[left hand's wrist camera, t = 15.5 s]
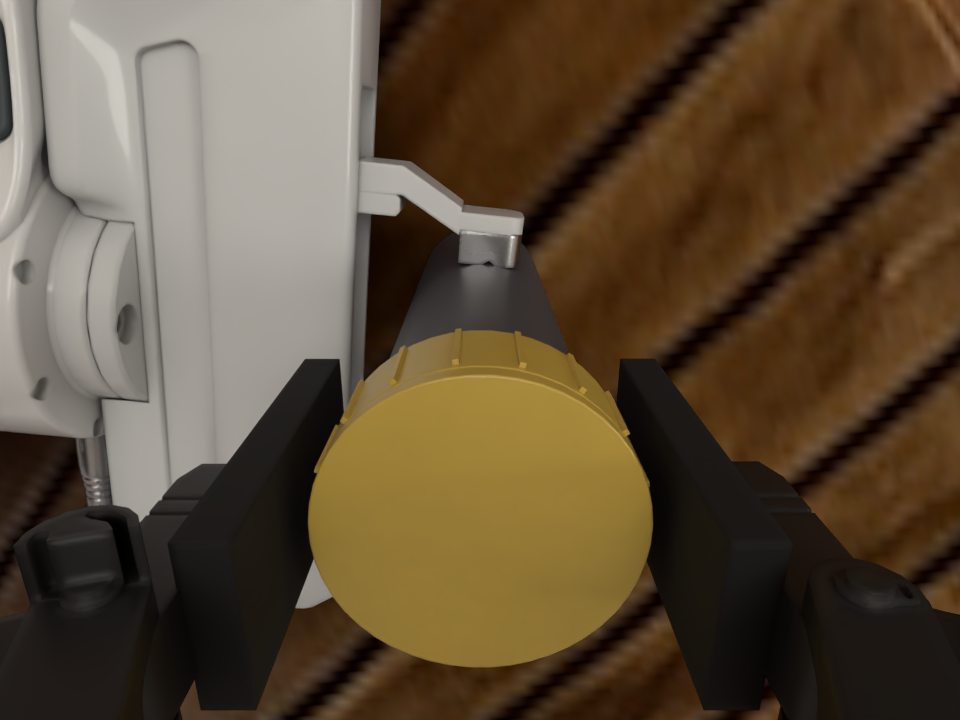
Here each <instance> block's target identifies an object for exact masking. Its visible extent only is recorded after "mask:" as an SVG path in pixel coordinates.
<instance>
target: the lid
mask: <svg viewBox="0 0 960 720" xmlns="http://www.w3.org/2000/svg"><path fill="white" fill-rule="evenodd" d="M629 434H630V432H629V430H628V428H627V426H626V424H625V422H624V420H623V418H622V416H621V414H620V412H619V410H618V407H617V405H616V403H615V401H614V399H613V397H612V395H611V393H610V392H609V391H606V392H604V391H603V390H602V388H601V387H600V386H599V384H598V383H597V382H596V380H595V379H594V378H593V377H592V376H591V375H590V374H589V373H588V372H587V371H586V370H585V369H584V368H583V367H582V366H580V365H579V364H578V363H576V361H575V358H574V356H573V355H572V354H570V353H568V354H567V355H565V354H564V353H562V352H560V351H558V350H557V349H555V348H553V347H551V346H549V345H547V344H544V343H542V342H539V341H537V340H534V339H532V338H528V337H525V336H521V332H518V331H515V332H514V334H513V333H507V332H499V331H492V330H470V331H462V329H461V328H459V329H455V332H453V333H448V334H444V335H440V336H436V337H432V338H429V339H427V340H424V341H422V342H419V343H416V344H414V345H412V346H410V347H408V348H407V347H406V346H405V345H404V346H402V347H400V349H399V352H398V353H397V354H395V355H394V356H393V357H391V358H390V359H389V360H387V361H386V362H385V363H383V364H382V365H380V366H379V367H378V368H377V369H376V370H375V371H374V372H373V373H372V374H371V375H370V376H369V377H368V378H367V379H366V380H365V382H364V381H363V380H360V381H359V382H358V384H357V386H356V388H355V390H354V392H353V394H352V397H351V399H350V401H349V403H348V405H347V407H346V409H345V411H344V414H343V416H342V418H341V420H340V424H339V425H335V427H334V429H333V431H332V433H331V435H330V438H329V440H328V442H327V444H326V446H325V448H324V450H323V452H322V454H321V456H320V458H319V460H318V462H317V465H316V467H315V470H314V473H317V475H316V478H315V480H314V483H313V486H312V491H311V495H310V500H309V507H308V531H309V541H310V546H311V550H312V553H313V557H314V561H315V564H316V566H317V569H318V571H319V573H320V576H321V578H322V580H323V582H324V583H325V585H326V587H327V588H328V590H329V592H330V593H331V595H332V596H333V598H334V599H335V600H336V601H337V603H338V604H339V605H340V606H341V608H342V609H343V610H344V611H345V612H346V613H347V614H348V615H349V616H350V617H351V618H352V619H353V620H354V621H355V622H356V623H357V624H358V625H360V626H361V627H362V628H363V629H365V630H366V631H367V632H369V633H370V634H371V635H373V636H374V637H376V638H378V639H379V640H381V641H383V642H384V643H386V644H388V645H390V646H391V647H394V648H396V649H398V650H400V651H402V652H405V653H407V654H409V655H412V656H415V657H418V658H422V659H425V660H428V661H432V662H437V663H441V664H446V665H453V666H462V667H498V666H509V665H515V664H519V663H524V662H529V661H533V660H536V659H539V658H543V657H546V656H549V655H551V654H554V653H556V652H558V651H561V650H563V649H565V648H568V647H570V646H571V645H573V644H575V643H576V642H578V641H580V640H582V639H583V638H585V637H587V636H588V635H589V634H591V633H592V632H593V631H595V630H596V629H598V628H599V627H600V626H602V625H603V624H604V623H605V622H606V621H607V620H608V619H609V618H610V617H611V616H612V615H613V614H614V613H615V612H616V611H617V610H618V609H619V608H620V606H621V605H622V604H623V603H624V601H625V600H626V599H627V598H628V596H629V595H630V593H631V592H632V590H633V588H634V587H635V585H636V583H637V582H638V580H639V578H640V575H641V573H642V571H643V569H644V566H645V564H646V561H647V557H648V553H649V550H650V546H651V540H652V532H653V506H652V500H651V495H650V490H649V487H650V483H649V480H648V478H647V476H646V474H645V472H644V469H643V467H642V465H641V463H640V461H639V459H638V457H637V455H636V453H635V450H634V448H633V446H632V444H631V442H630V440H629V438H628V437H627V435H629Z"/></svg>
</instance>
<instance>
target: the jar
mask: <svg viewBox="0 0 960 720" xmlns="http://www.w3.org/2000/svg"><path fill="white" fill-rule="evenodd" d="M459 243H460V233H459V235H458V234H457V233H455V232H453V233H451V234H450V235H448V236H447V237H445V238H444V239H443V240H442V241H440V243H439V244H438V245H437V246H436V247H435V248H434V250H433V251H432V253H431V254H430V256H429V258H428V260H427V263H426V265H425V268H424V271H423V273H422V276H421V278H420V281H419V284H418V286H417V289H416V291H415V294H414V297H413V299H412V302H411V304H410V307H409V309H408V312H407V315H406V317H405V320H404V322H403V325H402V328H401V330H400V333H399V335H398V338H397V341H396V343H395V346H394V348H393V351H392V353H391V356H390V358H391V357H393V356H394V355H395V354H397V353H398V352H399V349H400V347H402V346H404V345H405V346H406V347H407V348H408V347H410V346H412V345H414V344H416V343H419V342H422V341H424V340H427V339H429V338H432V337H436V336H440V335H444V334H448V333H453V332H455V329H459V328H461V329H462V331H470V330H492V331H499V332H507V333H513V334H514V332H515V331H518V332H521V336H525V337H528V338H532V339H534V340H537V341H539V342H542V343H544V344H547V345H549V346H551V347H553V348H555V349H557V350H558V351H560V352H562V353H564V354H565V355H567V354H568V353H569V352H568V349H567V347H566V344H565V342H564V339H563V336H562V334H561V331H560V329H559V326H558V324H557V321H556V318H555V316H554V313H553V311H552V308H551V306H550V303H549V300H548V298H547V295H546V293H545V290H544V288H543V285H542V282H541V280H540V277H539V275H538V272H537V270H536V267H535V264H534V262H533V260H532V257H531V255H530V254H529V252H528V250H527V249H526V248H525V247H524V245H523V244H522V243H521V246H520V253H519V259H518V266H517V267H515V268H501V267H497V266H494V265H493V264H492V263H491V262H490V261H488V262H486V263H484V264H482V265H472V264H463V263H458V257H459Z"/></svg>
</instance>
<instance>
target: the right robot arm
mask: <svg viewBox="0 0 960 720" xmlns="http://www.w3.org/2000/svg"><path fill="white" fill-rule="evenodd" d="M380 8H381V0H0V431H9V432H18V433H28V434H39V435H50V436H61V437H71V438H75V443H76V451H77V459H78V465H79V469H80V474H81V477H82V480H83V483H84V488H85V493H86V502H87V503H86V505H85V507H88V506H98V505H117V506H122V507H127V508H130V509H131V510H132V511H133V512H135V513H136V514H137V515H138V517H139V522H141V521H142V520H143V518H144V517H145V516H146V515H149V511H150V510H151V509H152V508H153V507H154V505H155V504H156V503H157V502H158V501H159V500H162V496H163V495H164V494H165V493H166V491H167V490H168V489H169V488H170V487H171V486H172V484H173V483H174V482H175V481H176V480H177V479H178V478H179V477H181V476H183V475H184V474H186V473H188V472H189V471H191V470H192V469H194V468H196V467H197V466H199V465H201V464H227V463H228V461H229V460H230V459H231V457H232V456H233V455H234V453H235V452H236V451H237V449H238V448H239V447H240V445H241V444H242V443H243V441H244V440H245V439H246V437H247V436H248V435H249V433H250V432H251V431H252V429H253V428H254V427H255V425H256V424H257V423H258V421H259V420H260V419H261V417H262V416H263V414H264V413H265V412H266V410H267V409H268V408H269V406H270V405H271V404H272V402H273V401H274V400H275V398H276V397H277V396H278V394H279V393H280V392H281V390H282V389H283V388H284V386H285V385H286V384H287V382H288V381H289V380H290V378H291V377H292V376H293V374H294V373H295V372H296V370H297V369H298V368H299V366H300V365H301V364H302V362H303V361H304V360H305V359H340V369H341V381H342V393H343V406H344V411H345V409H346V407H347V405H348V403H349V401H350V399H351V397H352V394H353V392H354V390H355V388H356V386H357V384H358V382H359V381H360V380H363V381H364V367H365V344H366V322H367V300H368V277H369V255H370V233H371V214H377V215H387V216H396V215H397V214H398V213H399V212H400V211H401V210H402V209H403V208H404V207H405V206H406V205H407V203H408V200H409V201H411V202H412V203H414V204H415V205H417V206H418V207H419V208H421V209H422V210H424V211H425V212H427V213H428V214H429V215H431V216H432V217H434V218H435V219H437V220H438V221H439V222H441V223H442V224H444V225H445V226H447V227H448V228H450V229H451V230H452V231H454V232H455V233H457V234H458V235H459V233H460V243H459V257H458V263H463V264H472V265H482V264H484V263H486V262H488V261H490V262H491V263H492V264H493V265H494V266H497V267H501V268H515V267H517V266H518V259H519V253H520V246H521V239H522V230H523V223H524V216H523V214H522V213H521V212H517V211H513V210H507V209H498V208H489V207H480V206H470V205H463V203H464V200H462V199H461V198H459V197H458V196H457V195H455V194H454V193H453V192H451V191H450V190H449V189H447V188H446V187H445V186H443V185H442V184H441V183H439V182H438V181H437V180H435V179H434V178H433V177H431V176H430V175H428V174H427V173H426V172H424V171H423V170H422V169H420V168H419V167H418V166H416V165H415V164H414V163H412V162H411V161H402V160H393V159H384V158H375V157H374V143H375V121H376V98H377V76H378V54H379V31H380ZM331 597H333V596H332V595H331V593H330V592H329V590H328V588H327V587H326V585H325V583H324V582H323V580H322V578H321V576H320V573H319V571H318V569H317V566H316V564H315V561H314V560H313V563H312V565H311V568H310V571H309V573H308V576H307V578H306V581H305V584H304V586H303V589H302V592H301V594H300V597H299V599H298V602H297V605H296V607H295V608H310V607H313V606H315V605H317V604H319V603H321V602H323V601H325V600H327V599H329V598H331Z"/></svg>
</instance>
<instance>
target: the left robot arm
mask: <svg viewBox="0 0 960 720" xmlns="http://www.w3.org/2000/svg"><path fill="white" fill-rule="evenodd" d="M617 407H618V410H619V412H620V414H621V416H622V418H623V420H624V422H625V424H626V426H627V428H628V430H629V432H630V434H629V435H627V437H628V438H629V440H630V442H631V444H632V446H633V448H634V450H635V453H636V455H637V457H638V459H639V461H640V463H641V465H642V467H643V469H644V472H645V474H646V476H647V478H648V480H649V483H650V487H649V490H650V495H651V500H652V506H653V532H652V540H651V546H650V550H649V553H648V557H647V563H648V565H649V568H650V571H651V573H652V576H653V578H654V581H655V584H656V586H657V589H658V592H659V594H660V597H661V599H662V602H663V605H664V607H665V610H666V612H667V615H668V618H669V620H670V623H671V626H672V628H673V631H674V633H675V636H676V639H677V641H678V644H679V646H680V649H681V652H682V654H683V657H684V660H685V662H686V665H687V667H688V670H689V673H690V675H691V678H692V680H693V683H694V686H695V688H696V691H697V694H698V696H699V699H700V701H701V704H702V707H703V709H704V710H759V708H760V703H761V698H762V693H763V688H764V684H765V679H766V678H767V680H768V682H769V684H770V686H771V688H772V690H773V692H774V693H775V695H776V697H777V699H778V701H779V703H780V705H781V706H780V711H779V715H778V720H960V615H959V614H954V613H949V612H944V611H940V610H937V609H933V608H932V606H931V604H930V602H929V601H928V600H927V599H926V597H925V596H924V595H923V593H922V592H921V591H920V590H919V588H917V587H916V586H915V585H913V584H912V583H911V582H909V581H908V580H907V579H905V578H904V577H902V576H901V575H899V574H897V573H895V572H893V571H891V570H889V569H886V568H884V567H882V566H880V565H877V564H874V563H870V562H866V561H863V560H859V559H854V558H853V557H852V556H851V555H850V554H849V553H848V551H847V550H846V549H845V548H844V547H843V546H842V544H841V543H840V542H839V541H838V540H837V539H836V537H835V536H834V535H833V534H832V533H831V532H830V531H829V529H828V528H827V527H826V526H825V525H824V524H823V522H822V521H821V520H820V519H819V518H818V517H817V515H816V514H815V513H811V508H810V507H809V506H808V505H807V504H806V503H805V502H804V500H803V499H802V498H799V497H798V493H797V492H796V491H795V490H794V489H793V488H792V486H791V485H790V484H789V483H788V482H787V481H786V479H785V478H784V477H783V476H781V475H780V474H778V473H776V472H775V471H773V470H771V469H770V468H768V467H766V466H765V465H763V464H762V463H760V462H732V461H731V460H730V459H729V457H728V456H727V455H726V453H725V452H724V451H723V449H722V448H721V447H720V445H719V444H718V443H717V441H716V440H715V439H714V437H713V436H712V435H711V433H710V432H709V431H708V429H707V428H706V427H705V425H704V424H703V423H702V421H701V420H700V418H699V417H698V416H697V414H696V413H695V412H694V410H693V409H692V408H691V406H690V405H689V404H688V402H687V401H686V400H685V398H684V397H683V396H682V394H681V393H680V392H679V390H678V389H677V388H676V386H675V385H674V384H673V382H672V381H671V380H670V378H669V377H668V376H667V374H666V373H665V372H664V370H663V369H662V368H661V366H660V365H659V364H658V362H657V361H656V360H655V359H620V369H619V381H618V393H617ZM343 414H344V406H343V393H342V381H341V369H340V359H305V360H304V361H303V362H302V364H301V365H300V366H299V368H298V369H297V370H296V372H295V373H294V374H293V376H292V377H291V378H290V380H289V381H288V382H287V384H286V385H285V386H284V388H283V389H282V390H281V392H280V393H279V394H278V396H277V397H276V398H275V400H274V401H273V402H272V404H271V405H270V406H269V408H268V409H267V410H266V412H265V413H264V414H263V416H262V417H261V419H260V420H259V421H258V423H257V424H256V425H255V427H254V428H253V429H252V431H251V432H250V433H249V435H248V436H247V437H246V439H245V440H244V441H243V443H242V444H241V445H240V447H239V448H238V449H237V451H236V452H235V453H234V455H233V456H232V457H231V459H230V460H229V461H228V463H227V464H201V465H199V466H197V467H196V468H194V469H192V470H191V471H189V472H188V473H186V474H184V475H183V476H181V477H179V478H178V479H177V480H176V481H175V482H174V483H173V484H172V486H171V487H170V488H169V489H168V490H167V491H166V493H165V494H164V495H163V496H162V500H159V501H158V502H157V503H156V504H155V505H154V507H153V508H152V509H151V510H150V511H149V515H146V516H145V517H144V518H143V520H142V521H141V522H139V517H138V515H137V514H136V513H135V512H133V511H132V510H131V509H130V508H127V507H122V506H117V505H98V506H88V507H84V508H80V509H76V510H72V511H67V512H65V513H62V514H60V515H58V516H55V517H53V518H50V519H48V520H45V521H43V522H42V523H40V524H39V525H37V526H35V527H34V528H32V529H31V530H29V531H27V532H26V533H25V534H24V535H23V536H22V537H21V538H20V539H19V540H18V541H17V542H16V544H15V545H14V546H13V548H14V551H15V554H16V557H17V561H18V564H19V567H20V571H21V574H22V577H23V581H24V584H25V587H26V591H27V594H28V597H29V601H30V605H29V608H28V610H27V612H23V613H19V614H15V615H10V616H6V617H1V618H0V720H182V715H181V711H180V707H181V705H182V703H183V701H184V699H185V697H186V695H187V693H188V691H189V689H190V687H191V685H192V683H193V681H194V679H195V683H196V688H197V693H198V698H199V703H200V708H201V710H256V709H257V707H258V704H259V701H260V699H261V696H262V694H263V691H264V688H265V686H266V683H267V680H268V678H269V675H270V673H271V670H272V667H273V665H274V662H275V660H276V657H277V654H278V652H279V649H280V646H281V644H282V641H283V639H284V636H285V633H286V631H287V628H288V626H289V623H290V620H291V618H292V615H293V612H294V610H295V607H296V605H297V602H298V599H299V597H300V594H301V592H302V589H303V586H304V584H305V581H306V578H307V576H308V573H309V571H310V568H311V565H312V563H313V560H314V557H313V553H312V550H311V546H310V541H309V531H308V507H309V500H310V495H311V491H312V486H313V483H314V480H315V478H316V475H317V473H314V470H315V467H316V465H317V462H318V460H319V458H320V456H321V454H322V452H323V450H324V448H325V446H326V444H327V442H328V440H329V438H330V435H331V433H332V431H333V429H334V427H335V425H339V424H340V420H341V418H342V416H343Z"/></svg>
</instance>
